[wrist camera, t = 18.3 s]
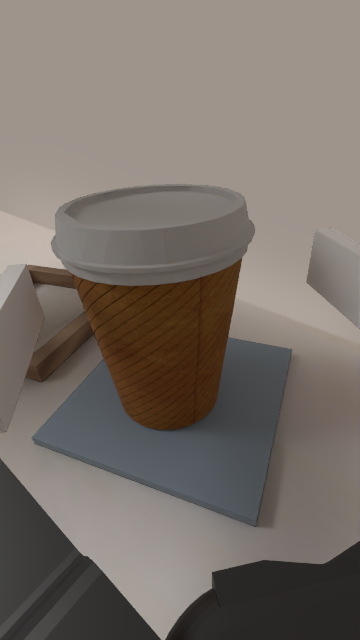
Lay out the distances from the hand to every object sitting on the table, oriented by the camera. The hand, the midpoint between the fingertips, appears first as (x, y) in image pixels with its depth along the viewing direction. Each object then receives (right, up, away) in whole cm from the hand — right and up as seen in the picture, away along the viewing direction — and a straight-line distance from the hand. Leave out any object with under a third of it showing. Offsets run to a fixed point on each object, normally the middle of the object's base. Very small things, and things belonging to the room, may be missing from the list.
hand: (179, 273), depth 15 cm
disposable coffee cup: (-1, -7, +6) cm, 10 cm away
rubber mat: (0, -7, +7) cm, 10 cm away
